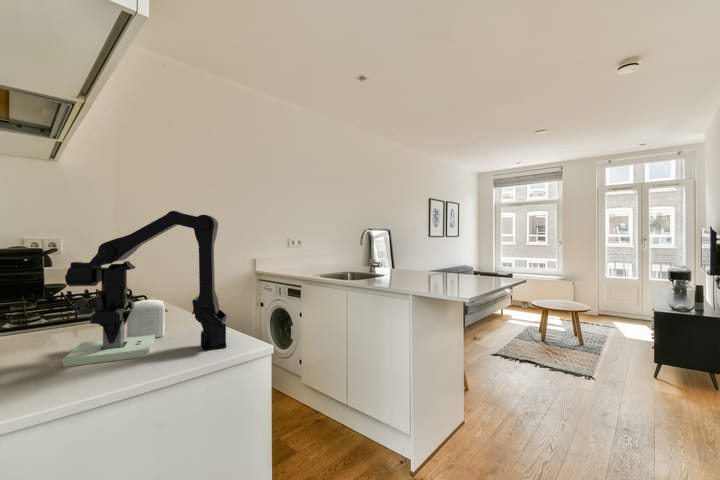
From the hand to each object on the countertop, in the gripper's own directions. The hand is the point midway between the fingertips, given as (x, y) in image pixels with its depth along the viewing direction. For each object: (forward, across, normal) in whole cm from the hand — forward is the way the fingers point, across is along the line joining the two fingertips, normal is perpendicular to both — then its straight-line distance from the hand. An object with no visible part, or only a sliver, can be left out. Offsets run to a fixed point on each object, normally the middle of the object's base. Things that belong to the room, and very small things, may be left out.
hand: (114, 340), depth 92 cm
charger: (+3, 0, 0) cm, 3 cm away
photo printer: (+4, -12, +6) cm, 14 cm away
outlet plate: (+4, 0, 0) cm, 4 cm away
